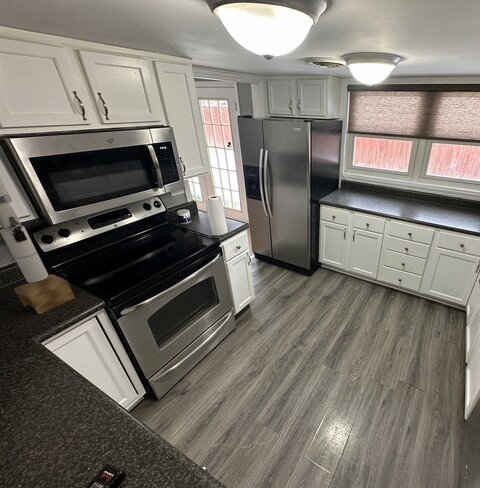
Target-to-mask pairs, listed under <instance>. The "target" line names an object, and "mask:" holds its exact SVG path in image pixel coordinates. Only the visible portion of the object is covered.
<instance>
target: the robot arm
mask: <svg viewBox="0 0 480 488" xmlns="http://www.w3.org/2000/svg"><path fill="white" fill-rule="evenodd" d="M12 202H13V200H12V198H11V196H10V194H9V192H8V190H7V188H6V185H5V184H4V182H3V179H2V178H1V177H0V228H1V229H4V228H6V229H7V228H8V227H9V228H10V230H11V231H12V232H13V236H14V238H15V240H16V242H21V241H25V240H27V238H26V236H25V234H24V232H23V230H22V228H21V226H22V223H21V220H20V218H19V216H18V214H17V213H16V211H15V208H14V207H13V206H12V204H11V203H12ZM13 228H14V229H13Z"/></svg>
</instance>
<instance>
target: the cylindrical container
mask: <svg viewBox="0 0 480 488" xmlns="http://www.w3.org/2000/svg"><path fill="white" fill-rule="evenodd" d="M20 226H21V228H22V230H23V232H24V234H25V236H26V238H27V240H25V241H21V242H16V240H15V238H14V236H13V232H12V231H11V230H10V228H9V227H8V228H7V229H6V228H4V229H2V228H1V229H0V235H1V237H2V238H3V240H4V242H5V244H6V246H7V247H8V249H9V251H10V253H11V255H12V257H13V258H14V261H15V262H16V264H17V266H18V268H19V269H20V271H21V273H22V275H23V277H24V278H25V280H26V282H27V283H30V282H37V281H40V280H43V279H45V278H47V277H48V276H49V273H48V271H47V269H46V267H45V266H44V263H43V261H42V259H41V257H40V255H39V253H38V251H37V249H36V247H35V245H34V243H33V241H32V239H31V238H30V236H29V233H28V231H27V229H26V228H25V226H24V225H20ZM13 229H14V228H13Z"/></svg>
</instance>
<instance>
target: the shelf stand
mask: <svg viewBox="0 0 480 488" xmlns="http://www.w3.org/2000/svg"><path fill="white" fill-rule="evenodd" d="M13 290H14V292H15V294H16V295H17V296H18V297H17V298H18V299H19V300H20V302H21V304H22V305H23V306H24V307H27V306H31V307H32V308H34V310H35V312H36V314H38V315H41V314H44V313H45V312H48V311H49V310H53V309H54V308H57V307H58V306H61V305H62V304H65V303H68V302H69V301H71V300H73V299H76V296H75V294H74V292H73V289H72V288H71V286H70V283H69V280H66V279H64V278H61V277H60V276H57V275H55V274H53V273H52V274H48V277H47V278H45V279H43V280H40V281H37V282H27V283H25V284H22V285H20V286H17V287H14V288H13Z"/></svg>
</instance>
